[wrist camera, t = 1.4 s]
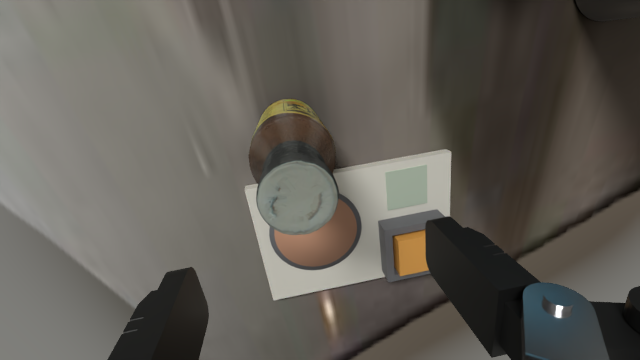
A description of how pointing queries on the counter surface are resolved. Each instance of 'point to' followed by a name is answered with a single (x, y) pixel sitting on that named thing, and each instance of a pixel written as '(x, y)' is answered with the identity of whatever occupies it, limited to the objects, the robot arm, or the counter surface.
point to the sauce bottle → (293, 168)
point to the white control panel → (357, 225)
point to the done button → (410, 252)
